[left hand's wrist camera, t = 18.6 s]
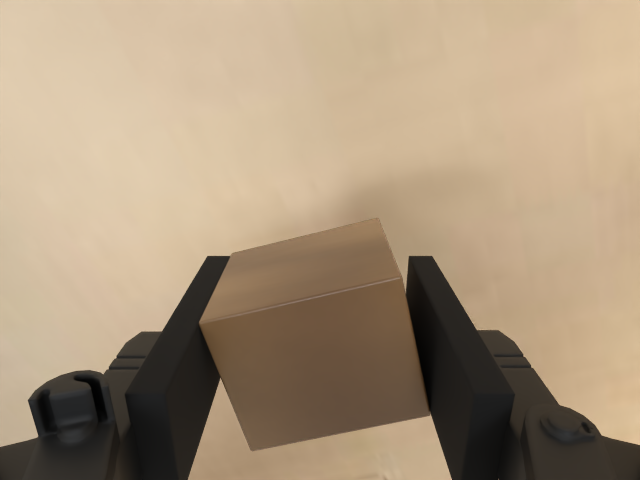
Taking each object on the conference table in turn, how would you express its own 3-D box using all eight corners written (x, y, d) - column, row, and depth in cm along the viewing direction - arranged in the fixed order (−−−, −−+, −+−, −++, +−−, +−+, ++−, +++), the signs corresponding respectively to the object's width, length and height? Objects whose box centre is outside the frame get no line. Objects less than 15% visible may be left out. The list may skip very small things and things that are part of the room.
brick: (268, 356, 16) (250, 452, 12) (230, 252, 14) (197, 322, 10) (402, 326, 15) (431, 416, 11) (378, 217, 14) (402, 276, 10)
